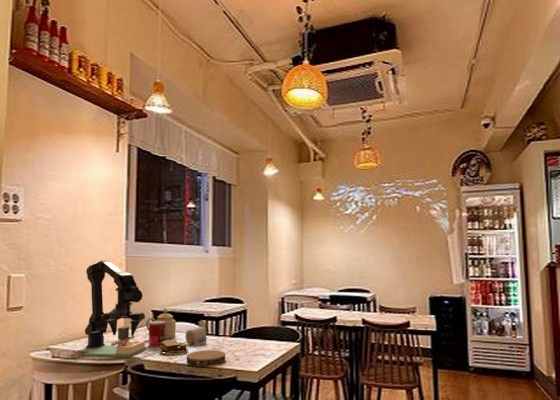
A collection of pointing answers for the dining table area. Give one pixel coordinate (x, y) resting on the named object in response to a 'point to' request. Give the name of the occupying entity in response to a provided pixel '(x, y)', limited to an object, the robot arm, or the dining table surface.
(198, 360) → the brown round disc
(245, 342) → the dining table surface
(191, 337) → the ceramic mug
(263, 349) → the dining table surface
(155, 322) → the canned food
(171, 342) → the toy sandwich meal
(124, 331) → the kicker rod
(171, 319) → the cream teapot
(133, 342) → the ball
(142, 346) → the pitch
